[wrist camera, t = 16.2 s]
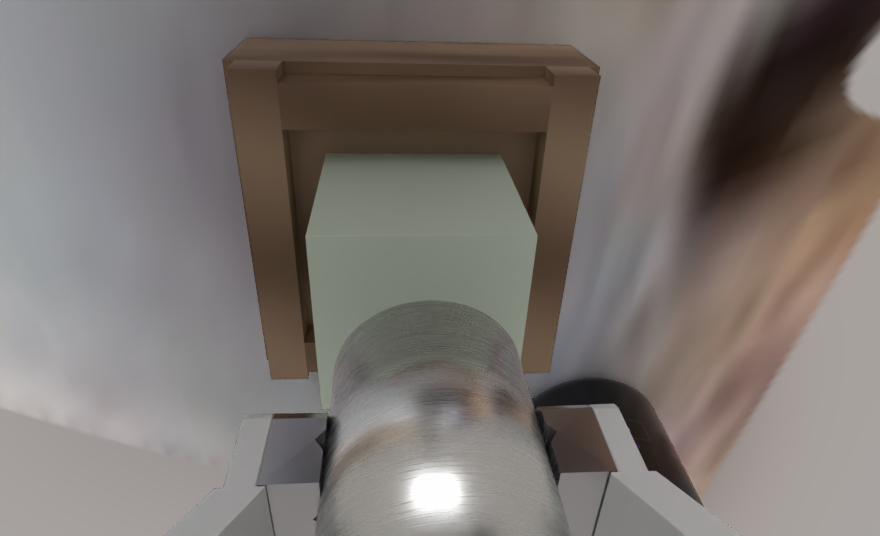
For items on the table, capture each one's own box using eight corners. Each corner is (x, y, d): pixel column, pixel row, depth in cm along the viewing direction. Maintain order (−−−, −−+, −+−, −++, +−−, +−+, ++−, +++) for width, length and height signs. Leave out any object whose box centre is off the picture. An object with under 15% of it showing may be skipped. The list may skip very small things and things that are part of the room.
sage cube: (326, 152, 17) (305, 236, 13) (500, 154, 17) (537, 235, 13) (335, 299, 19) (321, 409, 15) (487, 297, 20) (514, 403, 16)
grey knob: (327, 301, 12) (292, 533, 7) (530, 298, 12) (610, 518, 8) (338, 445, 14) (316, 691, 9) (511, 439, 14) (565, 674, 10)
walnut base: (245, 37, 18) (212, 69, 14) (570, 45, 19) (611, 75, 15) (280, 309, 23) (262, 379, 20) (533, 305, 24) (557, 372, 20)
